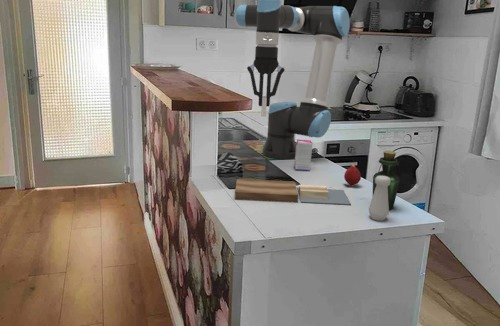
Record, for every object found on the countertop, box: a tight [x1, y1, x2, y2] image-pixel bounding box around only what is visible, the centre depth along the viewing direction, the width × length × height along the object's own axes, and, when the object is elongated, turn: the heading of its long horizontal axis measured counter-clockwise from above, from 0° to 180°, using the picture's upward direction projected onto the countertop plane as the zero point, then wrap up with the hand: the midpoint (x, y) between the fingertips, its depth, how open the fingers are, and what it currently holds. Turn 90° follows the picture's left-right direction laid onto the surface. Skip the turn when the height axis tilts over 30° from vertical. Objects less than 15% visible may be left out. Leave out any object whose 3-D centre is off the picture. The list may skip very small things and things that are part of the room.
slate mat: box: [296, 187, 352, 206], centre depth 155 cm, size 14×16×1 cm
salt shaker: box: [368, 176, 390, 222], centre depth 137 cm, size 6×6×13 cm
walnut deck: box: [234, 178, 299, 204], centre depth 155 cm, size 14×20×2 cm
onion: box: [343, 164, 362, 187], centre depth 166 cm, size 6×6×8 cm
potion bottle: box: [371, 150, 401, 211], centre depth 146 cm, size 8×8×18 cm
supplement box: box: [293, 138, 313, 172], centre depth 184 cm, size 6×6×12 cm
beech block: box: [298, 184, 328, 199], centre depth 154 cm, size 6×9×2 cm, turn 89°
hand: (263, 115), depth 162 cm, fingers closed
